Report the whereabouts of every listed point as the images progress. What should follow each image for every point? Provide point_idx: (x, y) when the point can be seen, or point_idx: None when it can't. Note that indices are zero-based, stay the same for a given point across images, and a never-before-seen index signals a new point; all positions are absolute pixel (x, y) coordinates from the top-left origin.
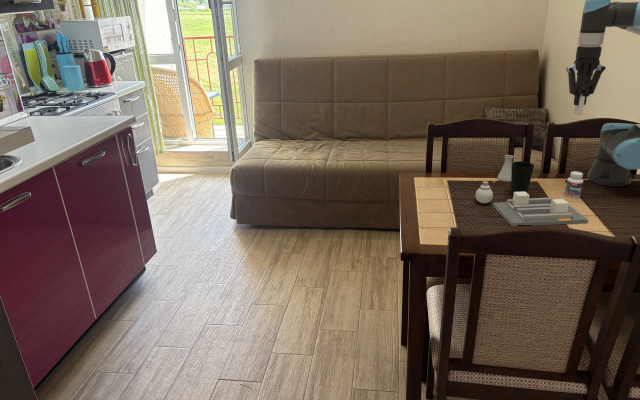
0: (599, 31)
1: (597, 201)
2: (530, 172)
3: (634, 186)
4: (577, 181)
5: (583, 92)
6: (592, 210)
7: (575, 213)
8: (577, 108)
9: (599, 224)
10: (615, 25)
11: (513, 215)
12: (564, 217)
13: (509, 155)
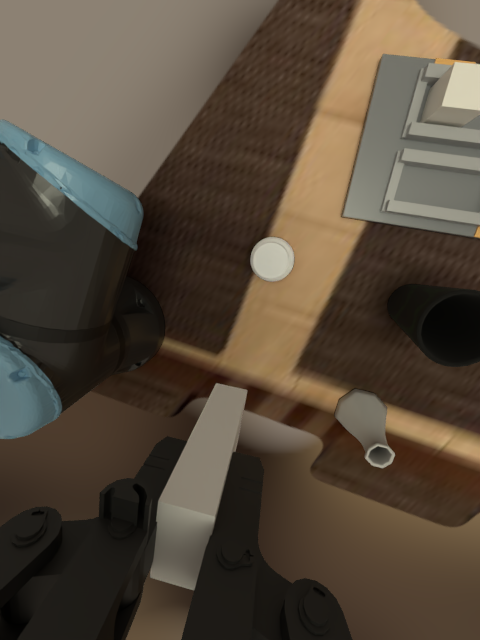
0: None
1: (241, 201)
2: (443, 290)
3: None
4: (280, 240)
5: (124, 598)
6: (298, 146)
7: (382, 109)
8: (237, 435)
9: (353, 44)
10: None
11: None
12: None
13: (372, 461)
